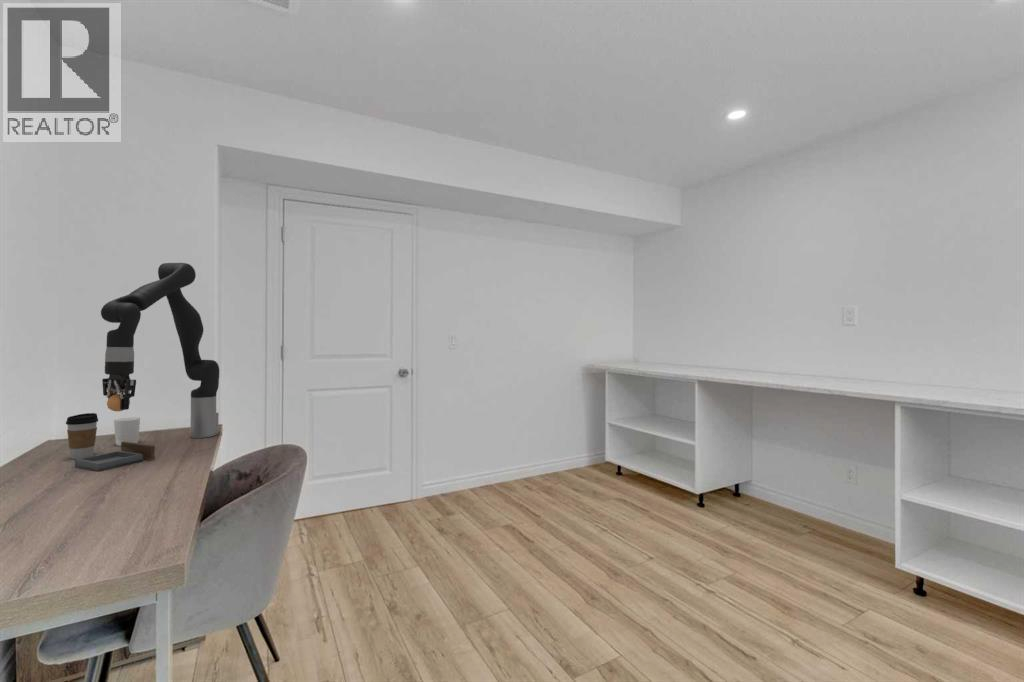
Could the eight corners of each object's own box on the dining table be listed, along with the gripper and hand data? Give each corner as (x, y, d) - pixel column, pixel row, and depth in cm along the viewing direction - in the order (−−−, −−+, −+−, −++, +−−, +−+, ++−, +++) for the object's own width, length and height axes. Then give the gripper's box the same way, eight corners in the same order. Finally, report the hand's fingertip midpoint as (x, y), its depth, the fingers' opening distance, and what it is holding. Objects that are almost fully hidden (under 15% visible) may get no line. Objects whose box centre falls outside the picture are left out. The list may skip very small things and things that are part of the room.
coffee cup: (104, 454, 163) (104, 413, 163) (80, 460, 154) (80, 417, 154) (84, 453, 164) (84, 412, 164) (58, 459, 155) (58, 416, 155)
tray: (119, 457, 159) (119, 450, 159) (142, 461, 155) (142, 454, 155) (74, 467, 147) (74, 459, 147) (98, 471, 143) (98, 463, 143)
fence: (125, 454, 162) (125, 441, 162) (154, 459, 157) (154, 445, 157) (121, 455, 161) (121, 442, 161) (150, 460, 156) (150, 446, 156)
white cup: (118, 442, 180) (118, 417, 180) (142, 440, 184) (142, 416, 184) (110, 446, 173) (110, 421, 173) (136, 445, 177) (136, 420, 176)
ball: (122, 409, 157) (123, 392, 157) (134, 410, 155) (134, 393, 155) (102, 411, 151) (102, 394, 151) (113, 413, 149) (114, 395, 149)
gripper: (145, 360, 154) (144, 409, 154) (118, 359, 159) (117, 406, 159) (120, 361, 147) (119, 411, 147) (93, 360, 152) (91, 409, 152)
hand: (118, 408), depth 153 cm, fingers closed on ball, 6 cm apart
